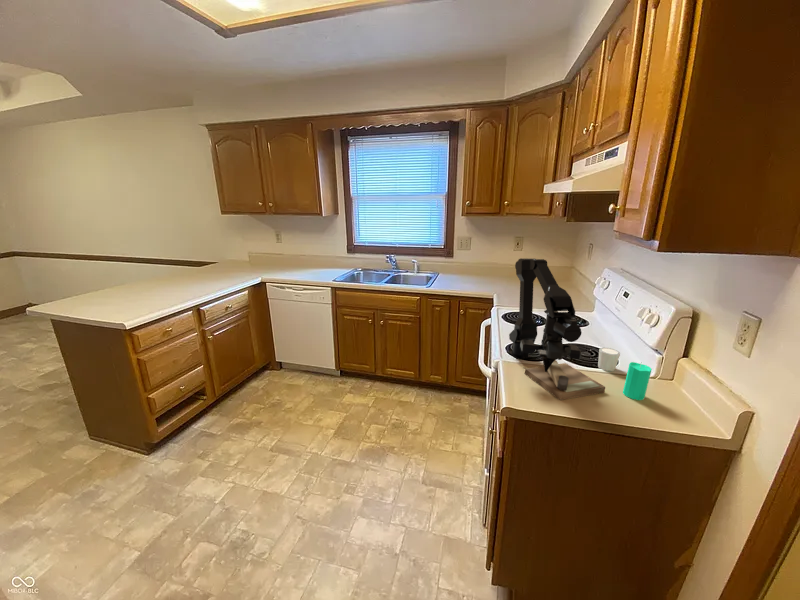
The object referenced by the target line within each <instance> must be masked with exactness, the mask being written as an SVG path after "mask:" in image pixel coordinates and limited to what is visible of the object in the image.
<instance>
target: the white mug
mask: <svg viewBox="0 0 800 600" xmlns="http://www.w3.org/2000/svg"><path fill="white" fill-rule="evenodd" d="M620 356H621V352H620V351H618V350H616V349H614V348H611V347H600V348H599V351H598V360H597V361H598V363H597V367H598V368H599V369H600V370H603V371H606V372H614V371H615V370H616V368H617V364H618V361H619V358H620Z"/></svg>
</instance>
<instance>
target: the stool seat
mask: <svg viewBox="0 0 800 600" xmlns="http://www.w3.org/2000/svg"><path fill="white" fill-rule="evenodd" d="M558 364H559V365H560V367H561V368H562V370H563V371H564V373H565V374H566V376H567V377H568V378H569V380H568V385H567V390H560V389H558V388H557V386H556V385H555V383H554V381H553V380H552V378H551V376H550V374H549V373H548V371H547V372H545V370H544V365H542V366H534V367H529V368H528V367H527V368H525V369H524V375H526V376H527V375H528V376H529V377H528V376H527V377H528V378H530V379H531V378H532V379H533V382H535V381H536V382H537V383H536V382H535V383H536V384H538V386H540V385H541V386H540V387H542V388H543V389H544V388H545V390H546V391H547V392H548V391H549V392H548V393H550V394H551V395H553V396H554V397H555V398H557V399H558V400H559V401H564V400H569V399H573V398H579V397H580V398H581V397H586V396H590V395H597V394H602V393H605V390H606V386H605V385H603V384H602V383H599V382H598V381H597V380H595V379H593V378H591V377H589V376H588V375H586V374H585V373H583V372H582V371H579V370H578V369H576V368H574V367H573V366H571V365H570V364H568V363H566V362H564V363H558ZM532 379H531V380H532Z"/></svg>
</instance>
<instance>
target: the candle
mask: <svg viewBox="0 0 800 600" xmlns="http://www.w3.org/2000/svg"><path fill="white" fill-rule="evenodd" d="M651 374H652V368H651V367H650V366H648V365H647V364H643V363H642V361H641V362H634V361H631V362H629V364H628V369H627V373H626V376H625V380H624V385H623V391H622V394H623V395H624V396H626V397H627V398H629V399H631V400H635V399H636V401H643V400H644V399H645V398H646V393H647V389H648V385H649V381H650V378H651Z"/></svg>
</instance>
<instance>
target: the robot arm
mask: <svg viewBox="0 0 800 600" xmlns="http://www.w3.org/2000/svg"><path fill="white" fill-rule="evenodd" d="M514 267H515V268H514V269H515V274H516V276H517V278H518V280H519V283H520V285H519V308H518V309H519V311H518V312H519V313H518V318H517V320H516V322H515V323H514V326H513V327H514V329H513V330H512V331H511V332H510V333H509V334H508V335H509V336H508V337H509V340H510V341H511V342H512V349H511V350H510V351H508V354H509V355H511V356H513V357H514V358H515V359H517V360H521V359H522V360H523V359H529V358H532V356H531V354H533V353H535V352H536V351H537V353H538V356H539V357H541V359H542V363H543V365H542V366H544V370H545V372H547V370H548V369H549V367H550V366H551V364H552V363H553V362H554V361H555V360H556V361H558V360H562V359H563V357H569V359H574V360H581V357H582V351H581V350H580V348H579V347H578V346H577V345H575V344H565V343H563V339H564V340H565V341H566V342H568V343H574V342H576V341H578V340H579V338H580V337H581V336H582V328H581V327H580V326H579V325H578V321H577V320H576V319H573V318H576V317H577V316H576V310H575V307H574V303H573V299H572V297H571V295H570V294H569V293H568V291H567V290H566V289H564V288H563V287H561V286H559V284H558V282H557V280H556V278H555V277H554V275H553V273H552V271H551V270H550V267H549V266H548V261H547V259H544V258H540V259H539V258H527V257H526V258H518V260H517V261H516V262H515V264H514ZM536 279H537V281H538V282H539V284H540V285H539V286H540V287H541V289H542V291H543V293H544V295H543V303H544V306H545V308H546V309H544V311H543V312H544V313H545V314H546V318H545V324H544V327H543V330H542V331H543V334H542V339H541V341H540V342H541V344H537V343H535V341H536V339H537V337H538V323H536V322H535V321H534V319H533V309H534V308H533V307H534V306H533V305H534V283H535V280H536Z"/></svg>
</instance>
